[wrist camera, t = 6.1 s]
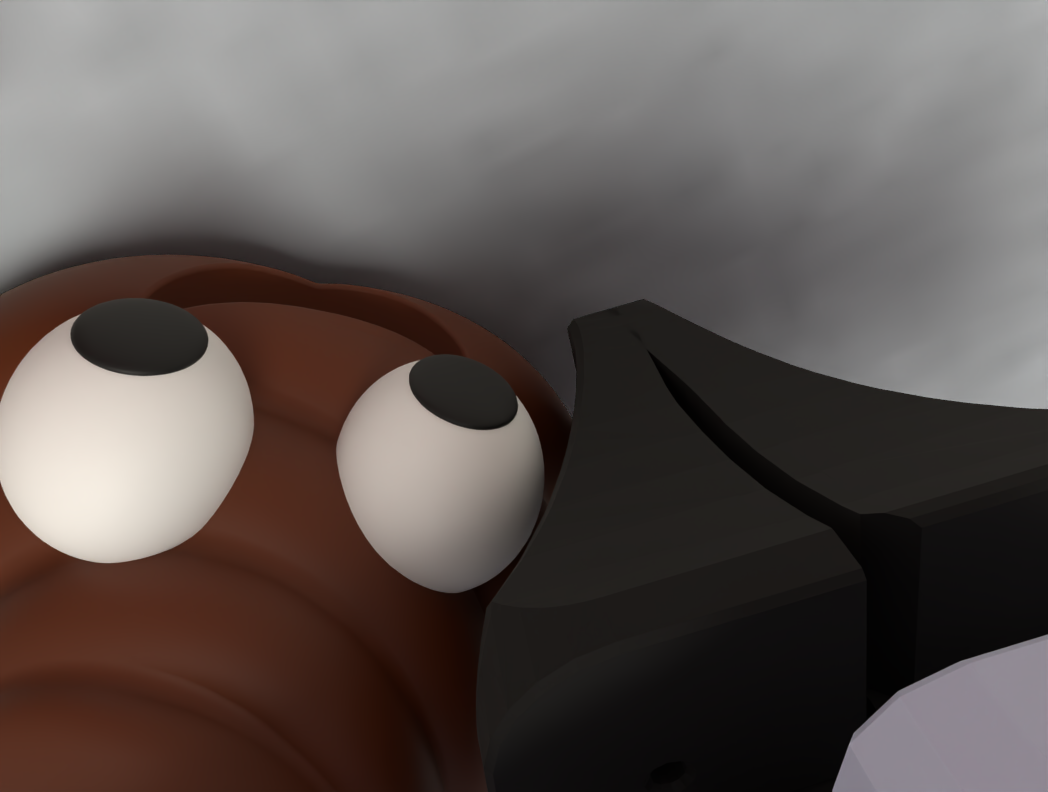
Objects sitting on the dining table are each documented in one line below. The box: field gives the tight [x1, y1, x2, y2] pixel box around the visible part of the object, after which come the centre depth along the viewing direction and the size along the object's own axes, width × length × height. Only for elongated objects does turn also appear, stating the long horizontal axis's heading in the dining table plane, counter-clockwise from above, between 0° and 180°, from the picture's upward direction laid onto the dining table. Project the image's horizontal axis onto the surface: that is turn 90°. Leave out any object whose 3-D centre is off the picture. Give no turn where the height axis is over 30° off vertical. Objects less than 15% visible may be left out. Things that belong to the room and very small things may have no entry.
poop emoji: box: [0, 255, 572, 792], centre depth 10 cm, size 10×8×9 cm
